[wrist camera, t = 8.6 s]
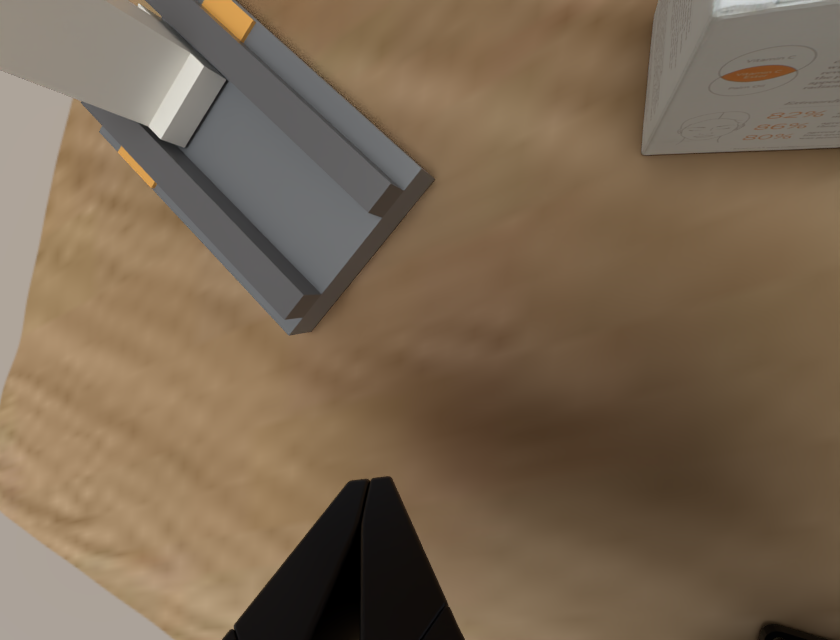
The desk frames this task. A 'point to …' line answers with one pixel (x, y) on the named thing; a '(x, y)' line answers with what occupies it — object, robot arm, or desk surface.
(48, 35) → the switch tab
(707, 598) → the desk surface
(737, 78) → the small box
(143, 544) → the desk surface
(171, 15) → the switch base
